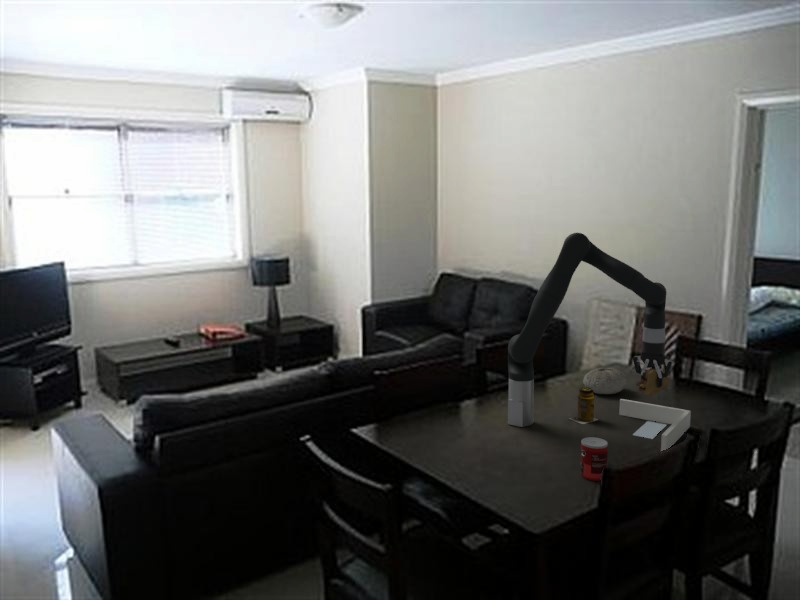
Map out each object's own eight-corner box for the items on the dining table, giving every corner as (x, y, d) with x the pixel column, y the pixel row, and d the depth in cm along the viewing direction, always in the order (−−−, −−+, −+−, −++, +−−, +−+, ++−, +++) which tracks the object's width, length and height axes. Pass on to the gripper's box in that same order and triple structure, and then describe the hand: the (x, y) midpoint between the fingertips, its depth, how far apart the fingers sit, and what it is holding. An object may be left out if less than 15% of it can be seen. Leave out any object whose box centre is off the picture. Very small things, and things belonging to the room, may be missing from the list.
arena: (665, 453, 227) (666, 435, 226) (590, 437, 242) (591, 421, 241) (690, 426, 251) (690, 410, 250) (620, 413, 266) (621, 398, 265)
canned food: (586, 468, 217) (587, 435, 215) (611, 474, 212) (612, 440, 210) (575, 476, 211) (576, 442, 209) (600, 483, 206) (601, 448, 204)
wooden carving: (658, 387, 252) (659, 361, 251) (669, 390, 249) (671, 364, 247) (632, 397, 242) (634, 370, 240) (644, 400, 239) (645, 372, 237)
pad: (652, 439, 239) (652, 438, 239) (632, 435, 243) (632, 434, 243) (667, 425, 253) (667, 424, 253) (647, 421, 257) (647, 420, 257)
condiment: (598, 420, 260) (599, 389, 258) (583, 424, 255) (583, 393, 253) (583, 414, 266) (584, 384, 264) (568, 419, 261) (569, 388, 259)
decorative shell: (575, 388, 300) (575, 365, 298) (610, 383, 305) (611, 361, 303) (598, 400, 283) (599, 376, 281) (635, 395, 288) (636, 372, 286)
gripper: (629, 339, 244) (628, 385, 246) (671, 344, 235) (669, 392, 238) (636, 335, 249) (635, 380, 252) (677, 340, 241) (675, 387, 244)
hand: (651, 386), depth 245 cm, fingers closed on wooden carving, 4 cm apart
